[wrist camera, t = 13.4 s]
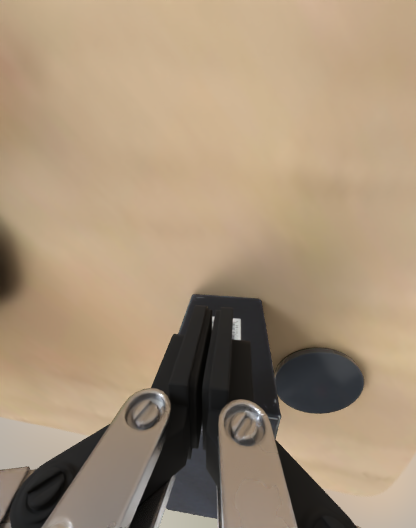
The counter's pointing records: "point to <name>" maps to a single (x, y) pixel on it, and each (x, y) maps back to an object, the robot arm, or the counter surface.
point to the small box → (264, 391)
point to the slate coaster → (318, 380)
